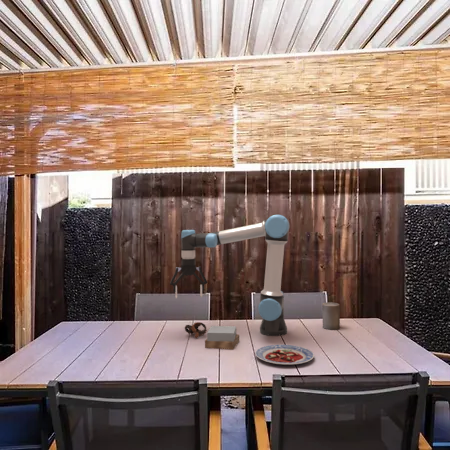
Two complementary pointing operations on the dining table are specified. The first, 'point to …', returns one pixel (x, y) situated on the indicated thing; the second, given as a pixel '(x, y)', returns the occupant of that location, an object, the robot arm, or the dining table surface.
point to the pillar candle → (331, 315)
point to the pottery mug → (195, 329)
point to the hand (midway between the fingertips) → (188, 297)
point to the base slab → (222, 344)
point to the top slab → (221, 333)
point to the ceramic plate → (284, 354)
